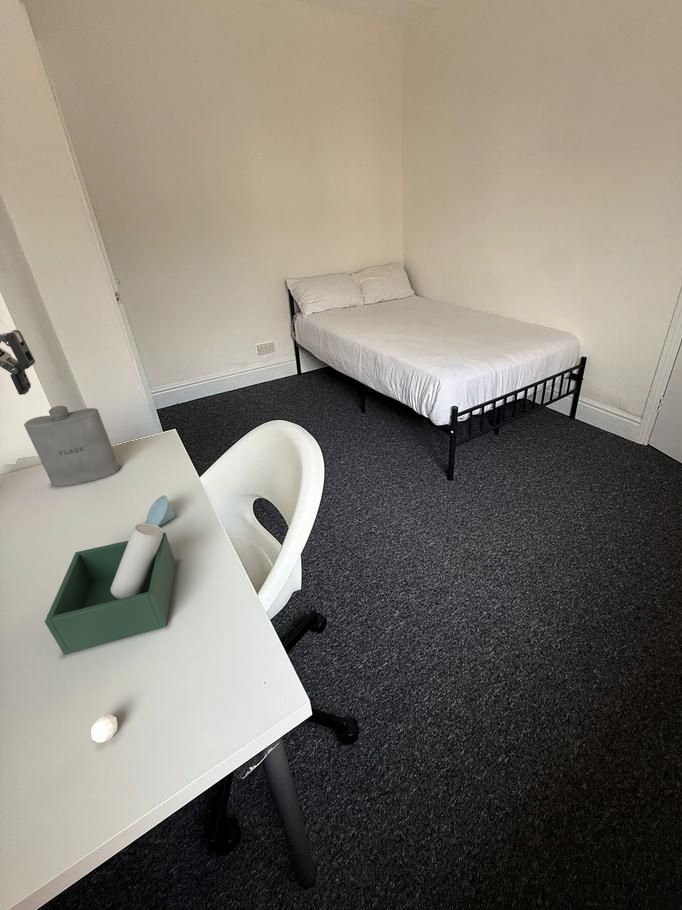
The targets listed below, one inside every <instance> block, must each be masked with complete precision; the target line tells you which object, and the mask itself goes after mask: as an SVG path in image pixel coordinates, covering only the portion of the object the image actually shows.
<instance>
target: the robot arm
mask: <svg viewBox="0 0 682 910" xmlns="http://www.w3.org/2000/svg"><path fill="white" fill-rule="evenodd" d="M1 343H4V344H5V345H6V347H10V349H11V351H12V353H13V355H14V357H13V356H12V354H11V353H9V352H8V351H7V350H5V349H4V348H2V347H0V368H2V369H3V370H5V371H7V372H8V373H10V375H9V377H10V378H11V380H12V383H13V385H14V387H15V389H16V391H17V393H18V395H19V396H23V395H26V394H28V393H29V392H30V389H31V388H32V383H31V382H30V380H29V377H28V375H27V372H26V370H28V369H30V368H31V367H32V366H33V365H35V363H36V359H35V357H34V356H33V353H32V352H31V350H30V348H29V346H28V344H27V342H26V340H25V338H24V337H23V334H22V333H21V331H20V330H19V329H18V330H17V329H13V330H11V331H10V332H4V333H0V344H1Z"/></svg>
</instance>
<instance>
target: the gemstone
mask: <svg viewBox="0 0 682 910" xmlns="http://www.w3.org/2000/svg"><path fill="white" fill-rule="evenodd" d="M175 517H176V516H175V513H174V511H173V508H172V506H171V504H170V501H169V498H168V496H166V495H161V496H160V497H158V498H157V499H156V500H155V501H154V502H153V503H152V505H151V506H150V507H149V510H148V512H147V515H146V524H152V525H156V526H158V527H160V526H162V525H164V524H166V523H167V522H169V521H171V520H172V519H175Z"/></svg>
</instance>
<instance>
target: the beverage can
mask: <svg viewBox="0 0 682 910" xmlns="http://www.w3.org/2000/svg"><path fill="white" fill-rule="evenodd" d="M163 533H164V530H163V528H162V527H160V526H159V527H158V526H156V525H152V524H147V523H138V524H136V525H135V527H134V528H133V530H132V531H131V534H130V537H129V539H128V541H129V542H128V544H127V547H126V549H125V552H124V555H123V557H122V560H121V562H120V565H119V568H118V570H117V573H116V576H115V578H114V581H113V583H112V586H111V593H112V595H113V596H114V597H116V598H118V599H122V598H126V597H130V596H134V595H138V594H140V593H141V591H142V588H143V586H144V583H145V581H146V578H147V575H148V573H149V570H150V568H151V565H152V562H153V560H154V557H155V555H156V552H157V550H158V547H159V545H160V542H161V540H162V537H163Z"/></svg>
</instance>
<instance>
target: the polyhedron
mask: <svg viewBox="0 0 682 910" xmlns="http://www.w3.org/2000/svg"><path fill="white" fill-rule="evenodd" d="M117 719H118V718H117V717H116V716H114V715H112V714H104V715H103V716H101V717H98V719H96V721H95V722H94V723H93V724H92V726H91V730H90V734H91V735H90V736H91V740H92V741H94V742H96V743H97V744H98V743H99V744H100V743H105V742H107V741H108V740H111V739H112V737H113V736H114V735H115V734H116V732H117V731H118V720H117Z"/></svg>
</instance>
